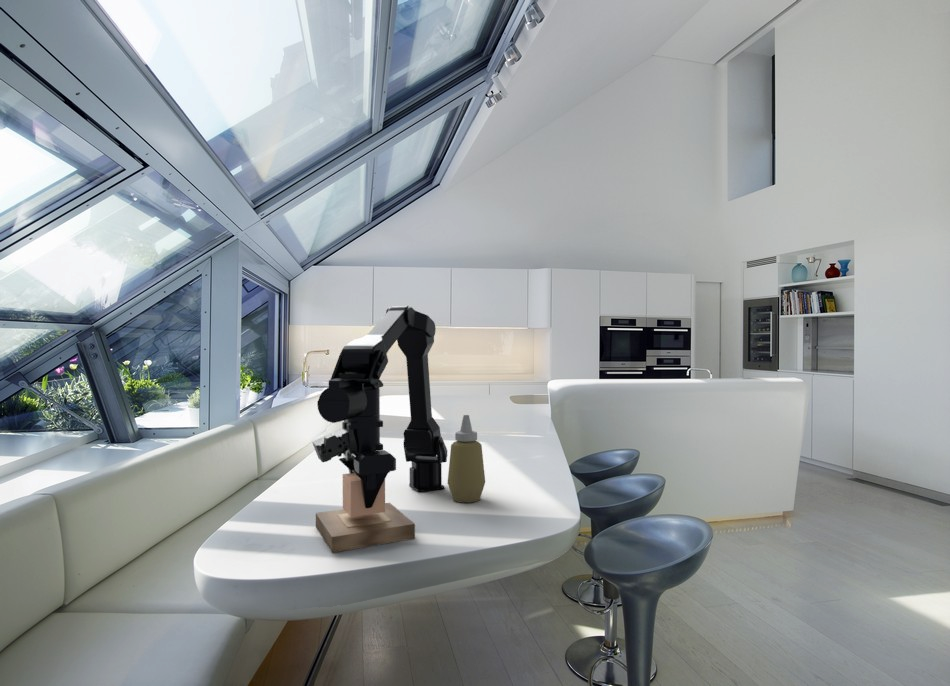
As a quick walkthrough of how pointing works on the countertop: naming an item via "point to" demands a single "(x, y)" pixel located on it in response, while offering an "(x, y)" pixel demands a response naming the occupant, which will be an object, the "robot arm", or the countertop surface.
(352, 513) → the cube
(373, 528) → the base board
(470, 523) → the countertop surface
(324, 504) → the countertop surface
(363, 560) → the countertop surface
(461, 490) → the squeeze bottle
